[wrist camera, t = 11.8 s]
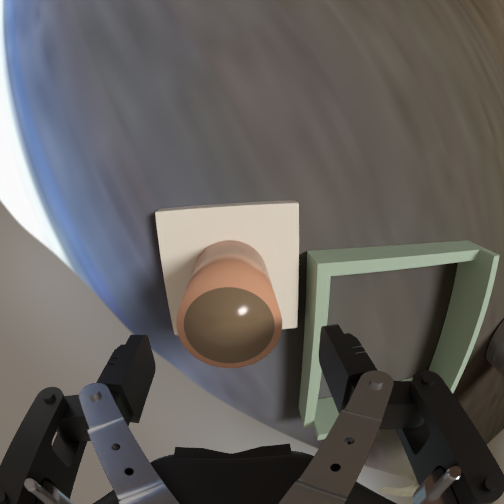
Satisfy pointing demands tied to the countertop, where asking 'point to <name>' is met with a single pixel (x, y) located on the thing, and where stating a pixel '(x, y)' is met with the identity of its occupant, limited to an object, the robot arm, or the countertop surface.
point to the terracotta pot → (229, 307)
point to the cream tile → (239, 229)
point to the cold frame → (384, 259)
